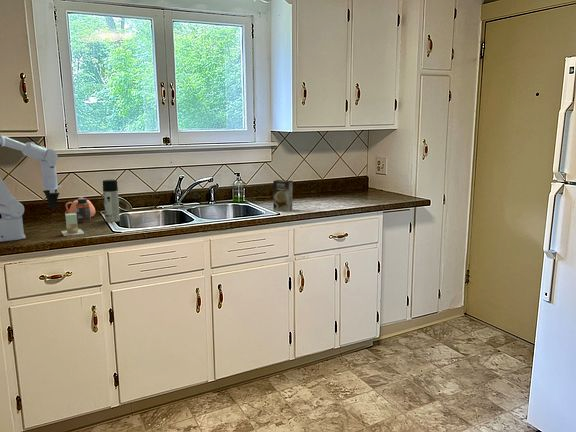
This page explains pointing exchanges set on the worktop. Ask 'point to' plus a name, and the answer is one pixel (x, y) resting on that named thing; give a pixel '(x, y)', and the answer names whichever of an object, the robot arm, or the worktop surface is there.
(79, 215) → the supplement bottle
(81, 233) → the baseplate
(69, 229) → the beech brick
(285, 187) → the coffee box
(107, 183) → the spray can
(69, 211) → the sugar bowl
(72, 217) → the sage brick
